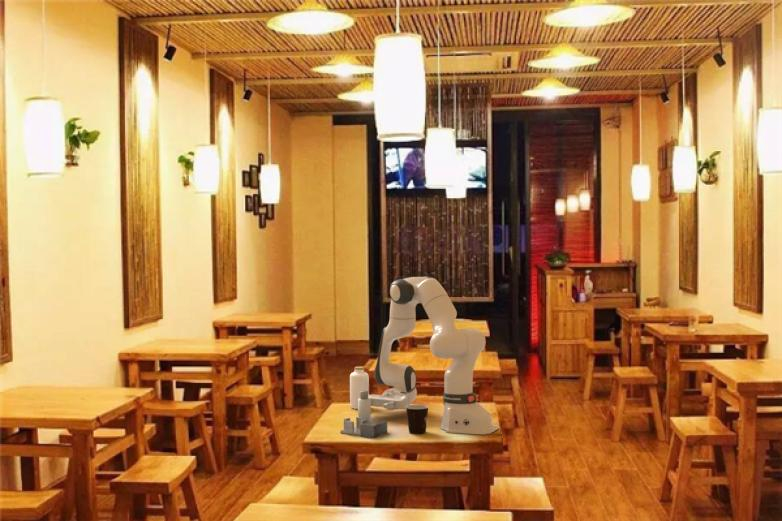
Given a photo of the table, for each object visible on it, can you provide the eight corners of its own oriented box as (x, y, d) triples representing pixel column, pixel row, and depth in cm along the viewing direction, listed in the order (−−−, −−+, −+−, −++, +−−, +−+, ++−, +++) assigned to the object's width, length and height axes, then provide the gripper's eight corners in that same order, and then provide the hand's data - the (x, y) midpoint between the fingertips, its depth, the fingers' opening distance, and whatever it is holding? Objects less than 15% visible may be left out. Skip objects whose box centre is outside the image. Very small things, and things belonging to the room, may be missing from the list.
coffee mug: (415, 429, 345) (415, 403, 345) (433, 432, 340) (432, 406, 340) (396, 434, 336) (396, 408, 336) (414, 437, 331) (414, 411, 331)
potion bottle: (360, 410, 382) (360, 369, 382) (346, 408, 387) (345, 367, 387) (372, 407, 389) (372, 366, 388) (358, 405, 394) (357, 365, 393)
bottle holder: (387, 432, 340) (387, 419, 339) (374, 438, 331) (373, 424, 331) (352, 428, 347) (352, 415, 347) (339, 433, 339) (338, 420, 339)
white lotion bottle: (373, 425, 353) (372, 390, 352) (366, 427, 348) (366, 392, 348) (362, 424, 355) (362, 389, 355) (355, 426, 351) (355, 391, 350)
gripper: (370, 389, 376) (353, 395, 364) (412, 393, 366) (396, 399, 354) (371, 404, 376) (353, 410, 364) (413, 408, 366) (396, 415, 354)
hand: (375, 405), depth 359 cm, fingers open, 8 cm apart
